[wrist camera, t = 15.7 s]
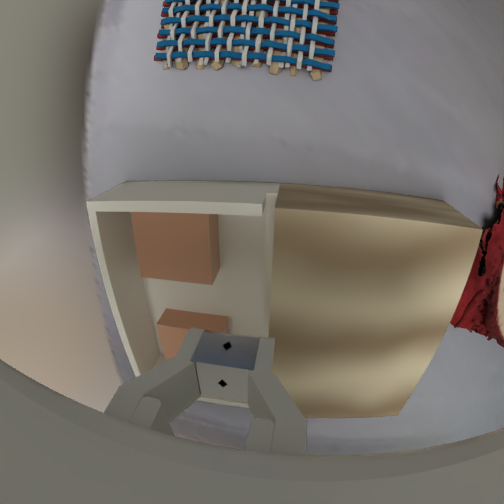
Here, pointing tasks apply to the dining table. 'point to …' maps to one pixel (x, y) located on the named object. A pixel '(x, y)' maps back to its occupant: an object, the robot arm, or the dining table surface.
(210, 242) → the terracotta tile
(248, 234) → the box
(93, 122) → the dining table surface
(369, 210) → the wooden box sleeve
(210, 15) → the woven mat
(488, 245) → the plate with food
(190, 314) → the terracotta tile
